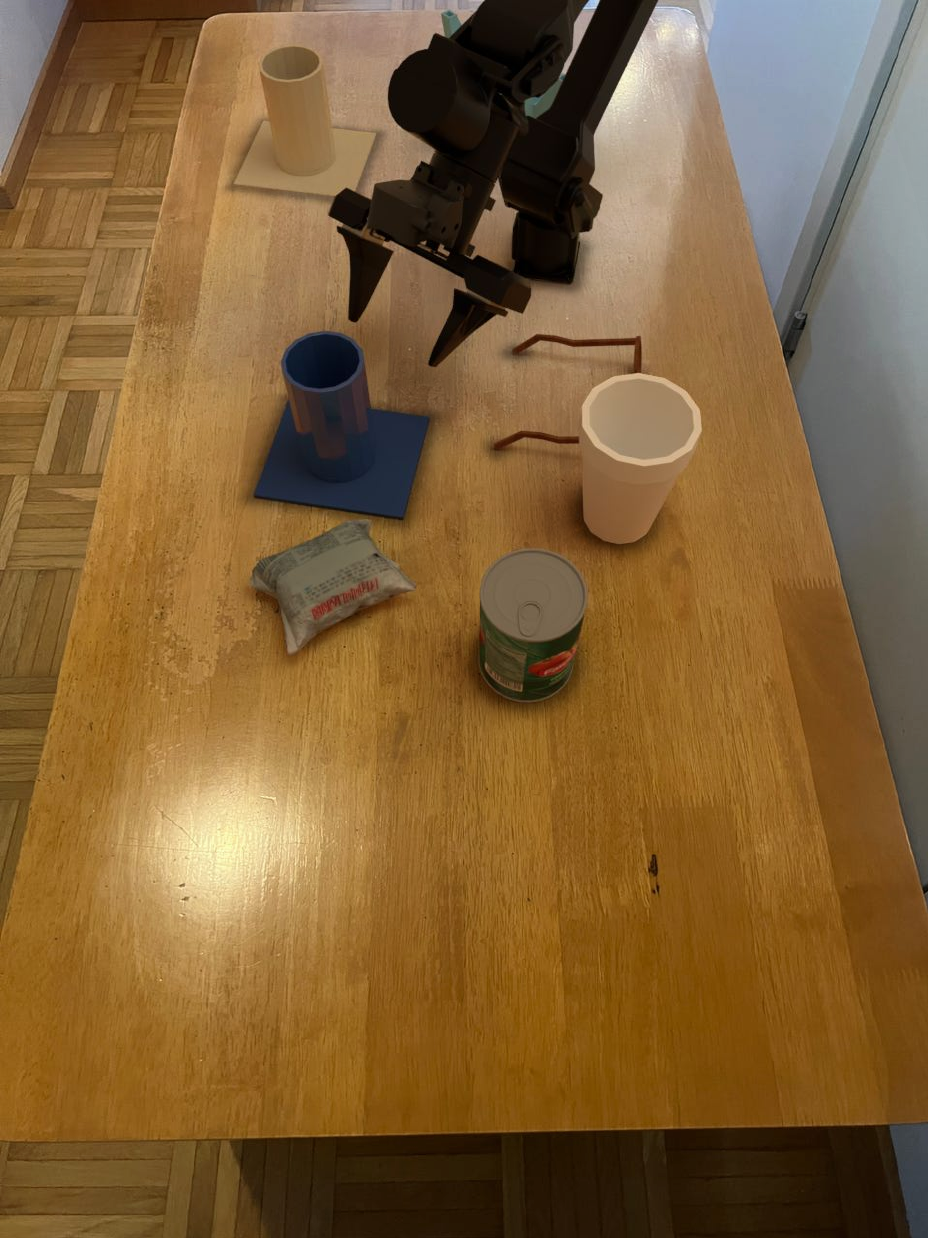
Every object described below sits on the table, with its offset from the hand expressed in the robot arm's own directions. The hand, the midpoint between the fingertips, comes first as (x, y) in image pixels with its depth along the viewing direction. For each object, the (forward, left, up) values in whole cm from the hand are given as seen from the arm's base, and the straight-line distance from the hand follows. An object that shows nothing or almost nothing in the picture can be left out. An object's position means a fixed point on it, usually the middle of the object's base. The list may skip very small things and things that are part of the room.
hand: (391, 343), depth 83 cm
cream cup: (+19, -35, -8) cm, 40 cm away
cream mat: (+19, -35, -8) cm, 40 cm away
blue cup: (+4, +7, -8) cm, 11 cm away
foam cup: (-22, +9, -8) cm, 26 cm away
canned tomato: (-16, +25, -8) cm, 31 cm away
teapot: (-2, -47, -8) cm, 48 cm away
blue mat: (+4, +7, -8) cm, 11 cm away
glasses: (-17, -3, -8) cm, 19 cm away
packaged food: (+1, +22, -8) cm, 24 cm away
